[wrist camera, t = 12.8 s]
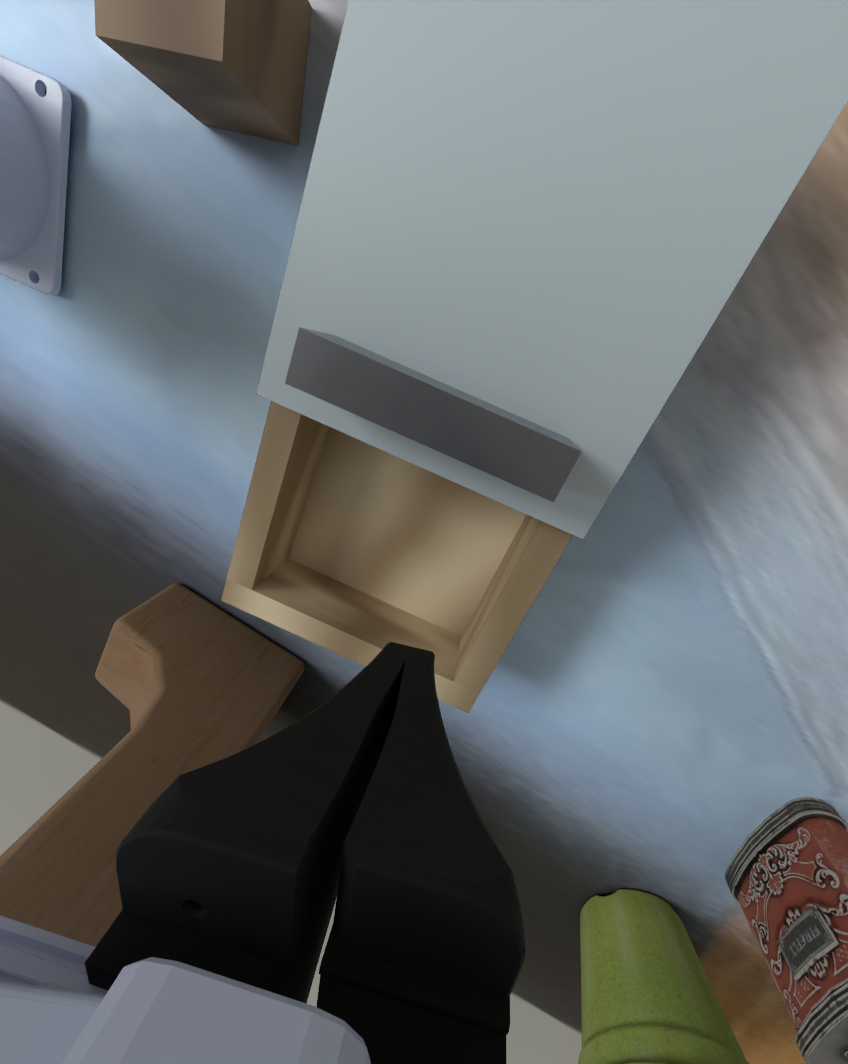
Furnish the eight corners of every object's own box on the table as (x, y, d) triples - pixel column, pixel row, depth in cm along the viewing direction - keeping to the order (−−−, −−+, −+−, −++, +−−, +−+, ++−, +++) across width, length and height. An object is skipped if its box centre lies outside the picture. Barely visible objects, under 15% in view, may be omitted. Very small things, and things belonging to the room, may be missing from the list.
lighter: (788, 788, 23) (979, 1068, 14) (853, 811, 23) (1092, 1110, 14) (710, 880, 26) (824, 1161, 17) (767, 900, 26) (915, 1196, 17)
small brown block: (204, 124, 17) (95, 34, 13) (209, -12, 16) (88, -169, 11) (298, 145, 17) (222, 61, 13) (312, 9, 16) (232, -144, 11)
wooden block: (154, 631, 27) (-419, 1053, 10) (176, 578, 25) (-463, 978, 9) (278, 709, 27) (-75, 1237, 11) (309, 661, 26) (-54, 1201, 9)
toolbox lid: (270, 392, 16) (210, 398, 13) (411, -176, 10) (370, -420, 7) (578, 529, 16) (597, 570, 12) (880, 19, 10) (1054, -146, 7)
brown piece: (271, 560, 24) (221, 600, 20) (351, 285, 18) (306, 259, 14) (474, 652, 23) (467, 712, 19) (614, 400, 18) (647, 408, 14)
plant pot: (572, 850, 27) (601, 1052, 19) (734, 891, 26) (837, 1123, 18) (539, 940, 30) (552, 1143, 22) (681, 980, 29) (748, 1209, 21)
